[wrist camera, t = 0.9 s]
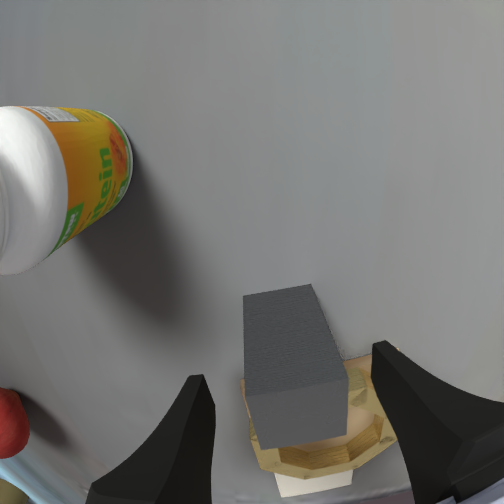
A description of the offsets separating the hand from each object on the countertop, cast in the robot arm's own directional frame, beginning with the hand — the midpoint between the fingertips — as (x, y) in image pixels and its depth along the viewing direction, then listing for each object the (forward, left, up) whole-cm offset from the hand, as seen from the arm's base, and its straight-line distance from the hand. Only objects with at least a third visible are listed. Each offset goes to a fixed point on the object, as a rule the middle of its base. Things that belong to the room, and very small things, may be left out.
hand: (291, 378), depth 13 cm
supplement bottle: (+8, -10, -5) cm, 14 cm away
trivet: (-1, +19, -5) cm, 19 cm away
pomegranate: (+23, +5, -5) cm, 24 cm away
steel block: (0, 0, -5) cm, 5 cm away
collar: (-2, +9, -5) cm, 10 cm away
